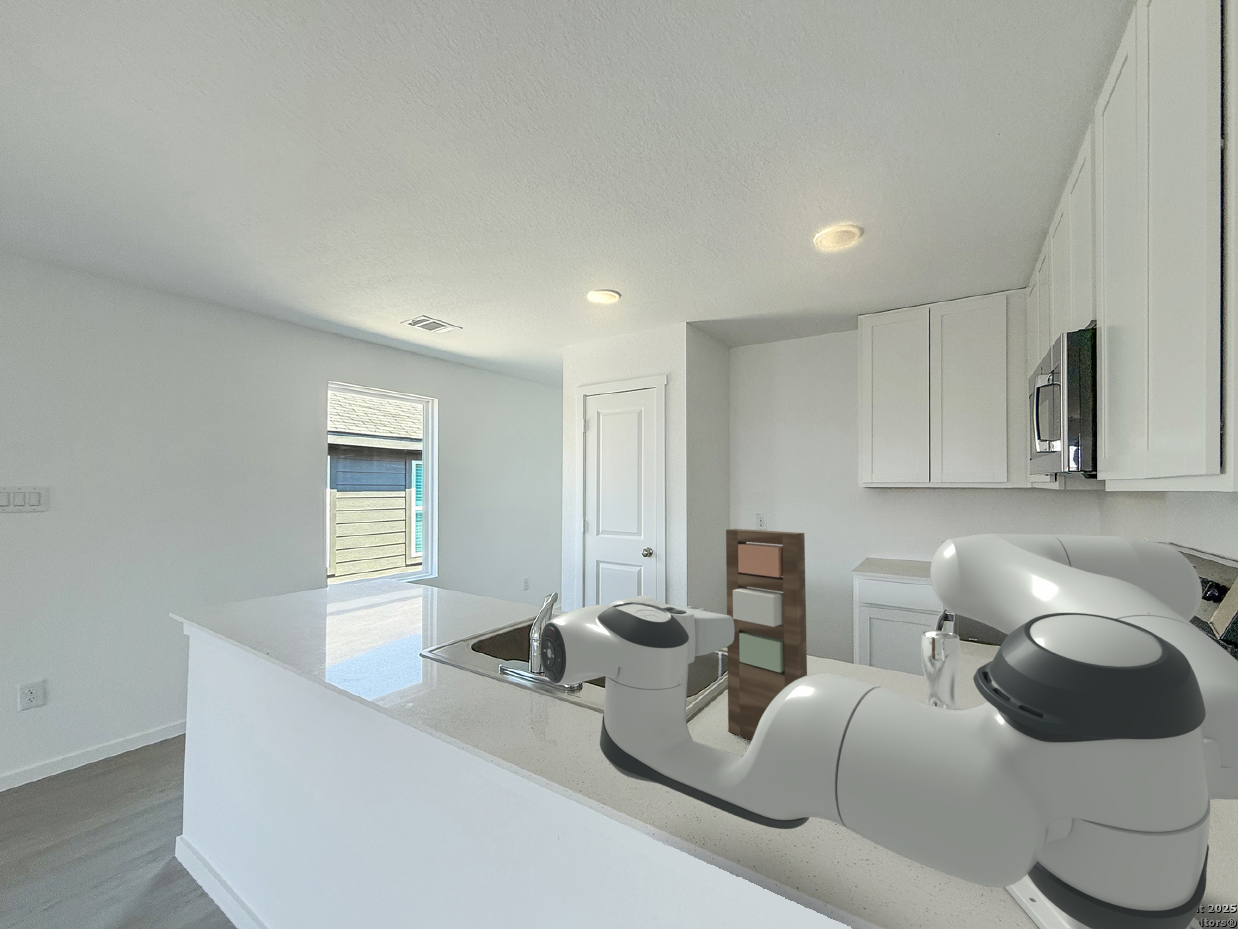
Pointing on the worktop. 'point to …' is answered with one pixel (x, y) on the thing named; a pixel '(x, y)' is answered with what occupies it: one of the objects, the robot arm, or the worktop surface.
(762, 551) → the terracotta key
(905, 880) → the worktop surface
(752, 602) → the cream key
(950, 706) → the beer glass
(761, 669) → the key panel
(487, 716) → the worktop surface
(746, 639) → the sage key
